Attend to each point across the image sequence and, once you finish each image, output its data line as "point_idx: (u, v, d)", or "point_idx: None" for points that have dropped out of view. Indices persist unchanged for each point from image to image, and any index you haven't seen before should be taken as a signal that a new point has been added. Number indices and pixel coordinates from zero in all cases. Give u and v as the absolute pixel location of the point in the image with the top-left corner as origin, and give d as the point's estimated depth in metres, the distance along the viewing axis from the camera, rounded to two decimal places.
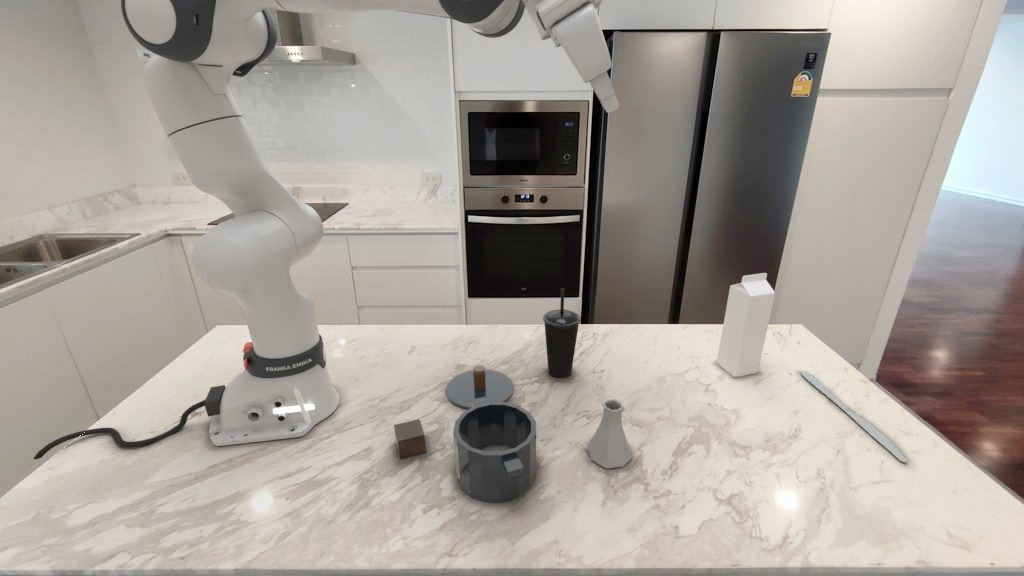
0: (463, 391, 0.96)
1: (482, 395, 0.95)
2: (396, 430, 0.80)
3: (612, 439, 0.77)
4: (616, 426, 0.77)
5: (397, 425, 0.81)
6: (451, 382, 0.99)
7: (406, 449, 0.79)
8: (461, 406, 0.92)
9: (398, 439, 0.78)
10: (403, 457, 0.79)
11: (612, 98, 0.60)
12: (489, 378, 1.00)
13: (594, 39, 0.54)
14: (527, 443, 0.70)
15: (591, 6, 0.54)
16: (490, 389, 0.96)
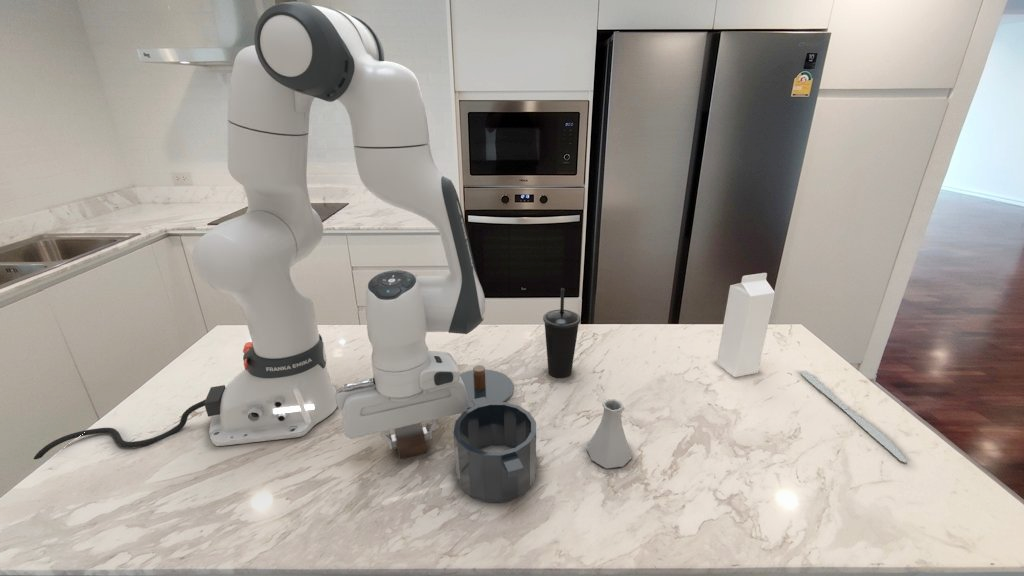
0: None
1: (482, 395, 0.95)
2: (396, 430, 0.80)
3: (612, 439, 0.77)
4: (616, 426, 0.77)
5: None
6: None
7: (406, 449, 0.79)
8: None
9: (398, 439, 0.78)
10: (403, 457, 0.79)
11: None
12: (489, 378, 1.00)
13: None
14: (527, 443, 0.70)
15: None
16: (490, 389, 0.96)
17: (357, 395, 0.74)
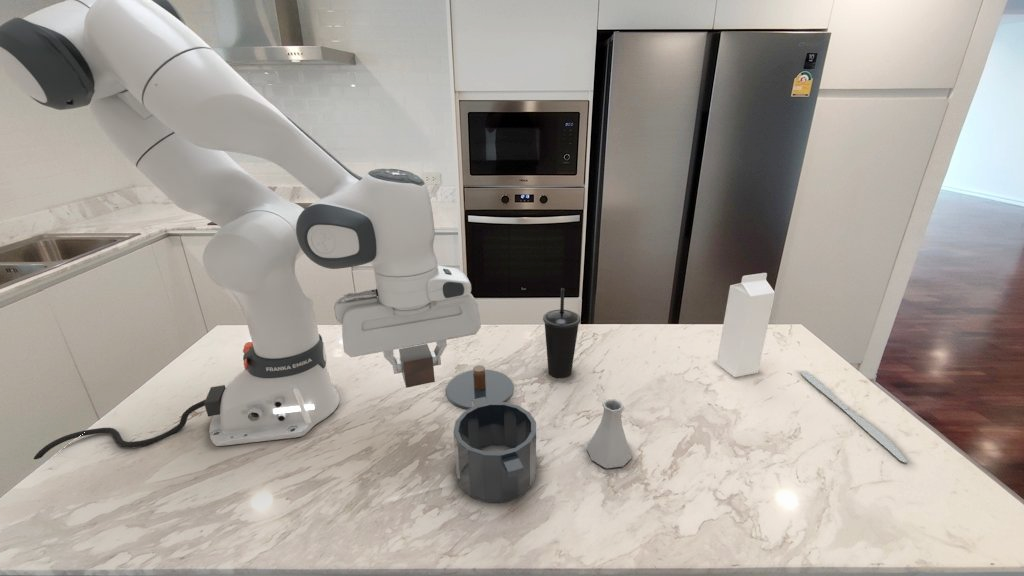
0: (463, 391, 0.96)
1: (482, 395, 0.95)
2: (401, 353, 0.73)
3: (612, 439, 0.77)
4: (616, 426, 0.77)
5: (402, 349, 0.74)
6: (451, 382, 0.99)
7: (413, 373, 0.72)
8: (461, 406, 0.92)
9: (403, 361, 0.71)
10: (409, 382, 0.72)
11: None
12: (489, 378, 1.00)
13: None
14: (527, 443, 0.70)
15: None
16: (490, 389, 0.96)
17: (358, 306, 0.67)
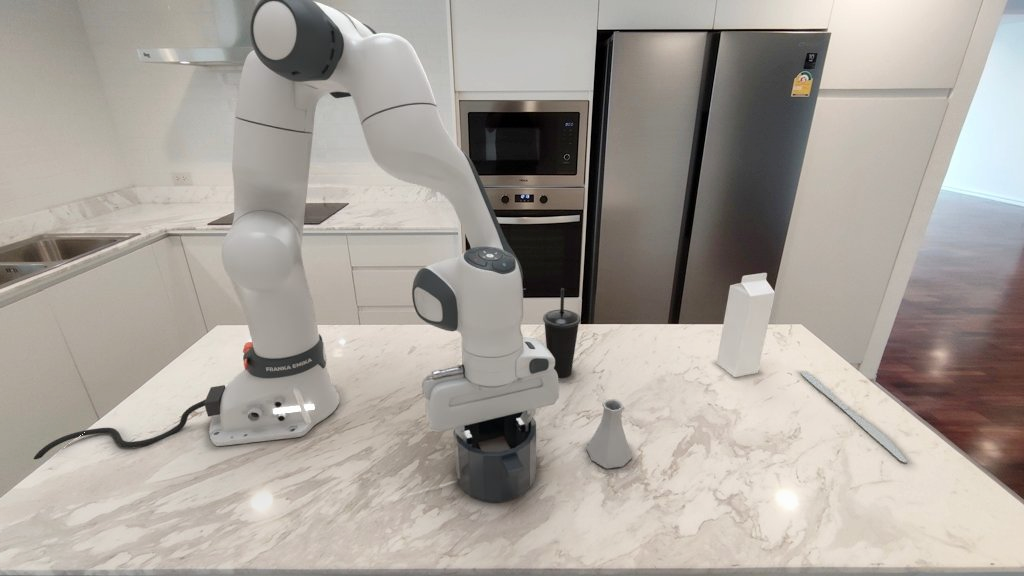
0: None
1: None
2: (481, 448, 0.75)
3: (612, 439, 0.77)
4: (616, 426, 0.77)
5: (481, 443, 0.76)
6: None
7: None
8: None
9: None
10: None
11: None
12: None
13: None
14: (527, 443, 0.70)
15: None
16: None
17: (446, 383, 0.67)
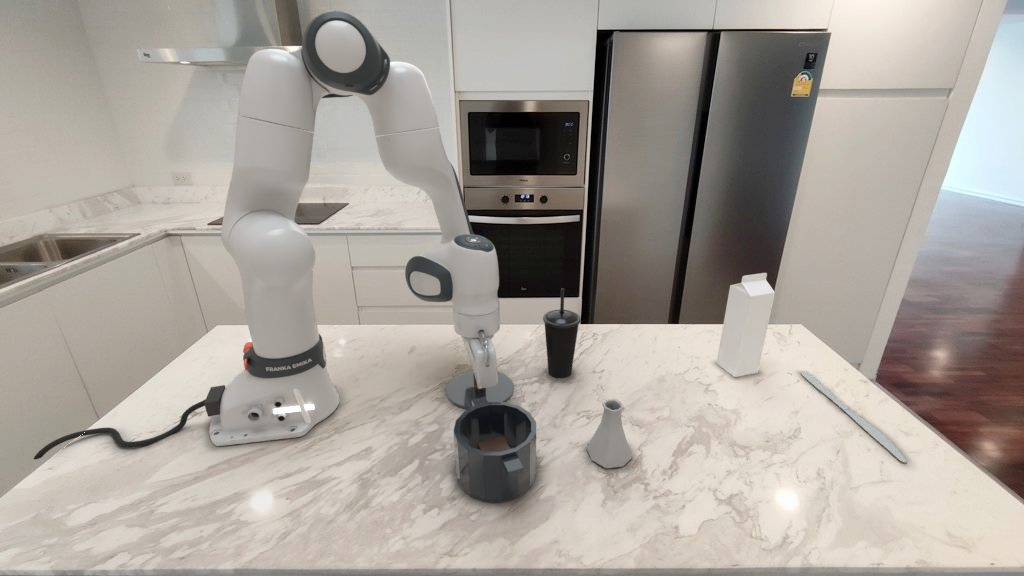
0: (463, 391, 0.96)
1: (482, 395, 0.95)
2: (481, 448, 0.75)
3: (612, 439, 0.77)
4: (616, 426, 0.77)
5: (481, 443, 0.76)
6: (451, 382, 0.99)
7: None
8: (461, 406, 0.92)
9: None
10: None
11: None
12: None
13: None
14: (527, 443, 0.70)
15: None
16: (490, 389, 0.96)
17: (489, 345, 0.86)
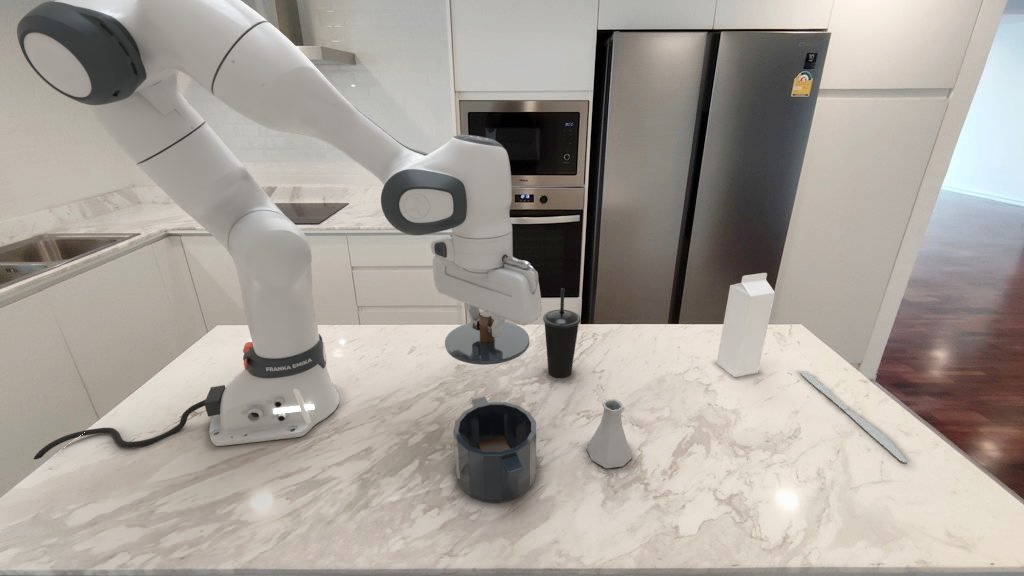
0: (473, 348, 0.75)
1: (500, 344, 0.75)
2: (481, 448, 0.75)
3: (612, 439, 0.77)
4: (616, 426, 0.77)
5: (481, 443, 0.76)
6: (448, 345, 0.76)
7: None
8: (490, 362, 0.71)
9: None
10: None
11: None
12: None
13: None
14: (527, 443, 0.70)
15: (434, 256, 0.76)
16: (501, 337, 0.78)
17: None
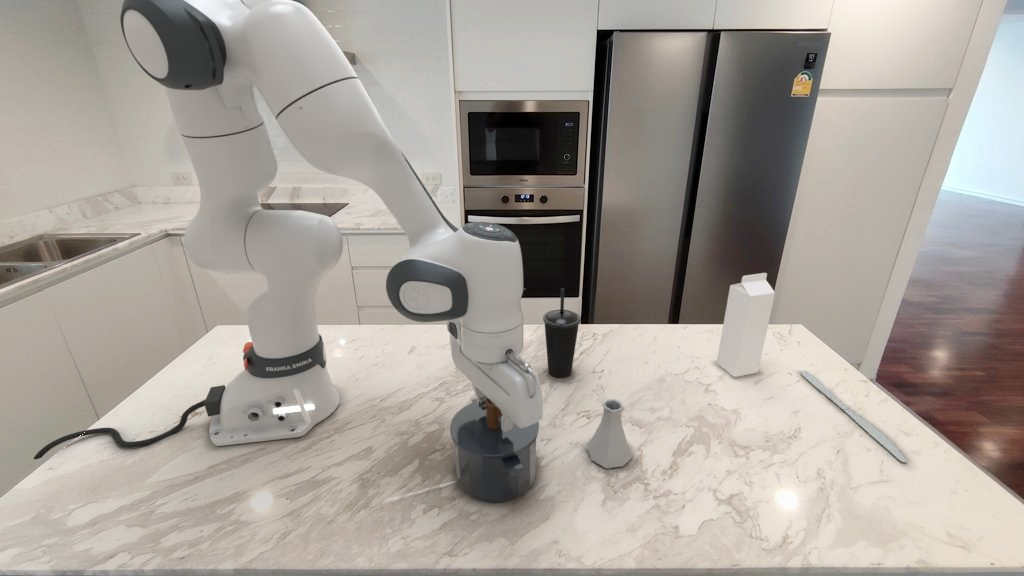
0: (476, 434, 0.71)
1: (504, 434, 0.71)
2: None
3: (612, 439, 0.77)
4: (616, 426, 0.77)
5: None
6: (453, 425, 0.73)
7: None
8: (485, 456, 0.67)
9: None
10: None
11: None
12: None
13: None
14: None
15: None
16: None
17: None
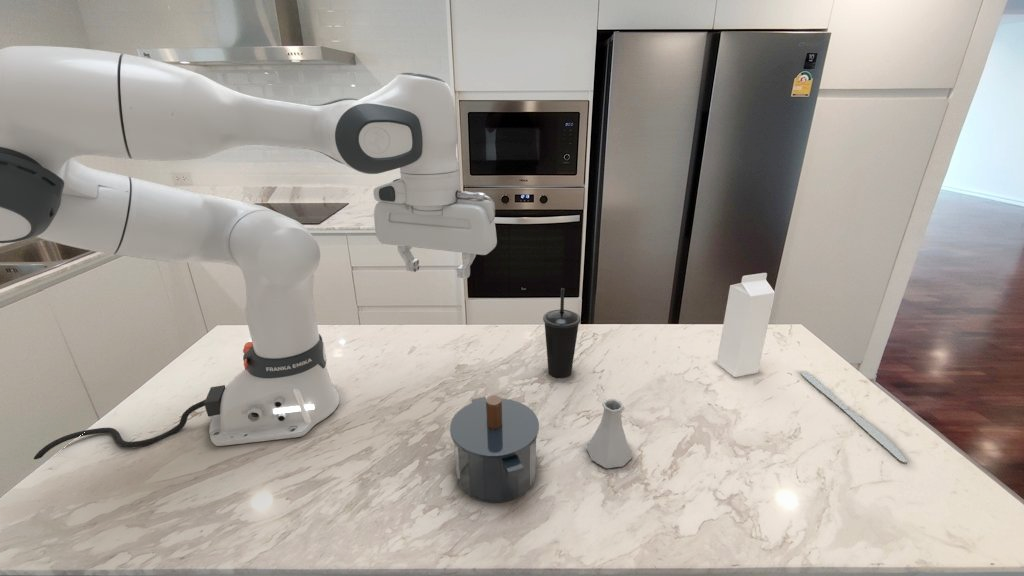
0: (476, 434, 0.71)
1: (504, 434, 0.71)
2: None
3: (612, 439, 0.77)
4: (616, 426, 0.77)
5: None
6: (453, 425, 0.73)
7: None
8: (485, 456, 0.67)
9: None
10: None
11: None
12: None
13: None
14: None
15: (376, 204, 0.75)
16: (509, 424, 0.73)
17: None
